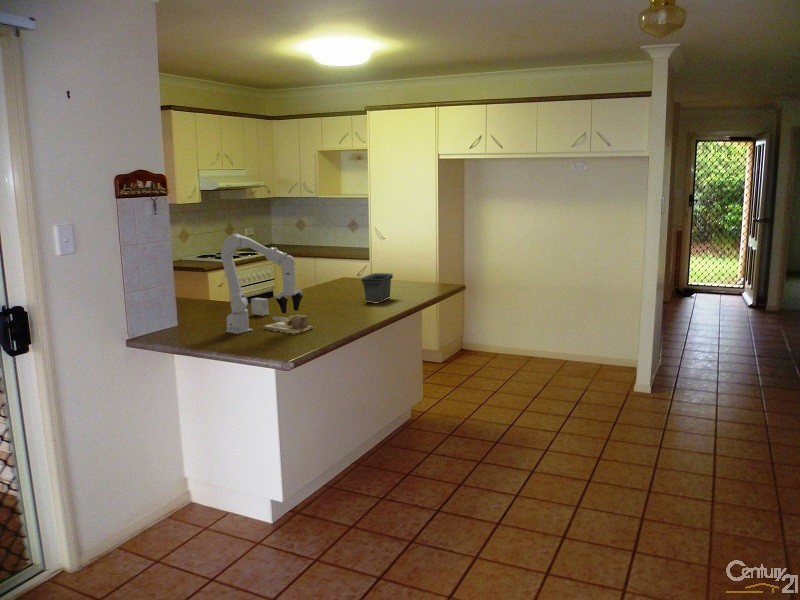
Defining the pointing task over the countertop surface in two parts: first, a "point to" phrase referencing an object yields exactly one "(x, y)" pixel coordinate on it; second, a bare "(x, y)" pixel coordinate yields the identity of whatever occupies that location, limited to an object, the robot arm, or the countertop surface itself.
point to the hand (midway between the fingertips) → (290, 311)
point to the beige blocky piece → (297, 325)
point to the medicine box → (259, 306)
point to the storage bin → (377, 286)
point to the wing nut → (290, 321)
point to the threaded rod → (280, 318)
